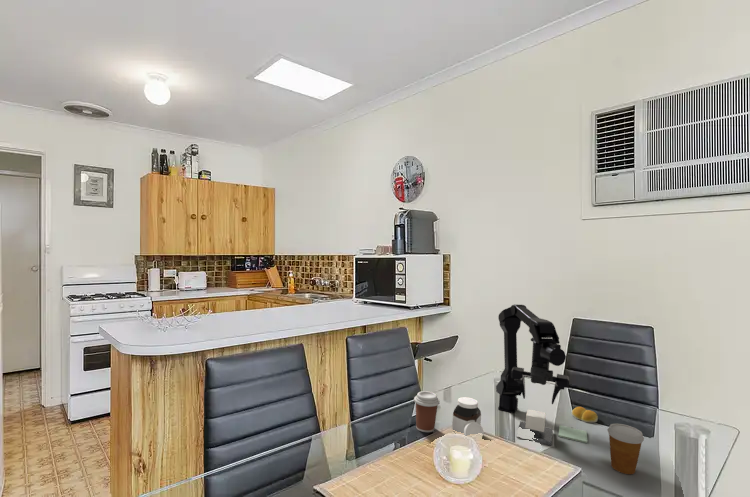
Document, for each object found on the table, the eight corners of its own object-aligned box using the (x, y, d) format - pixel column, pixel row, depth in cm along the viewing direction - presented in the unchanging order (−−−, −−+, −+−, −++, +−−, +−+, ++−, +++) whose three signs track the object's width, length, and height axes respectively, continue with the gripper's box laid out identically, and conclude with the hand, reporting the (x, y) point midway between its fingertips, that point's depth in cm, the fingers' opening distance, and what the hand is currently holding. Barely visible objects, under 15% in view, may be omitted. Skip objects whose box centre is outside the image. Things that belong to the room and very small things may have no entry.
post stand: (516, 437, 143) (517, 418, 143) (520, 425, 153) (521, 407, 153) (550, 445, 139) (552, 426, 139) (552, 432, 149) (553, 414, 148)
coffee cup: (407, 427, 147) (409, 393, 146) (422, 420, 153) (424, 388, 153) (428, 436, 140) (430, 401, 140) (443, 428, 147) (445, 395, 147)
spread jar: (464, 426, 150) (466, 394, 150) (492, 437, 142) (494, 404, 142) (444, 435, 142) (446, 402, 142) (473, 448, 134) (475, 413, 134)
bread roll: (592, 425, 157) (593, 415, 157) (568, 417, 164) (569, 407, 164) (601, 420, 163) (602, 410, 163) (578, 412, 169) (578, 402, 169)
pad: (558, 436, 146) (558, 434, 146) (559, 426, 154) (559, 425, 154) (587, 443, 142) (587, 441, 142) (586, 432, 150) (586, 431, 150)
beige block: (525, 427, 145) (526, 415, 144) (527, 421, 150) (528, 409, 150) (543, 432, 142) (544, 419, 142) (545, 425, 147) (545, 413, 147)
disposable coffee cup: (598, 460, 131) (601, 422, 131) (627, 460, 132) (629, 423, 131) (618, 477, 121) (621, 437, 121) (649, 477, 122) (652, 437, 122)
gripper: (510, 358, 142) (507, 403, 142) (570, 367, 134) (567, 415, 135) (514, 350, 152) (511, 393, 153) (570, 359, 144) (567, 403, 145)
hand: (538, 401), depth 146 cm, fingers open, 9 cm apart
